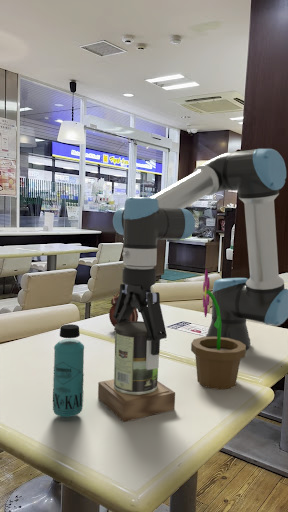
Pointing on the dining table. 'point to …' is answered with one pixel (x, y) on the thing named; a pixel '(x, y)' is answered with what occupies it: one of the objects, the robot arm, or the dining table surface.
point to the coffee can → (132, 360)
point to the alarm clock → (114, 301)
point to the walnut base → (136, 401)
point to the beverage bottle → (68, 373)
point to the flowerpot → (216, 352)
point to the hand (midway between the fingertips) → (136, 358)
